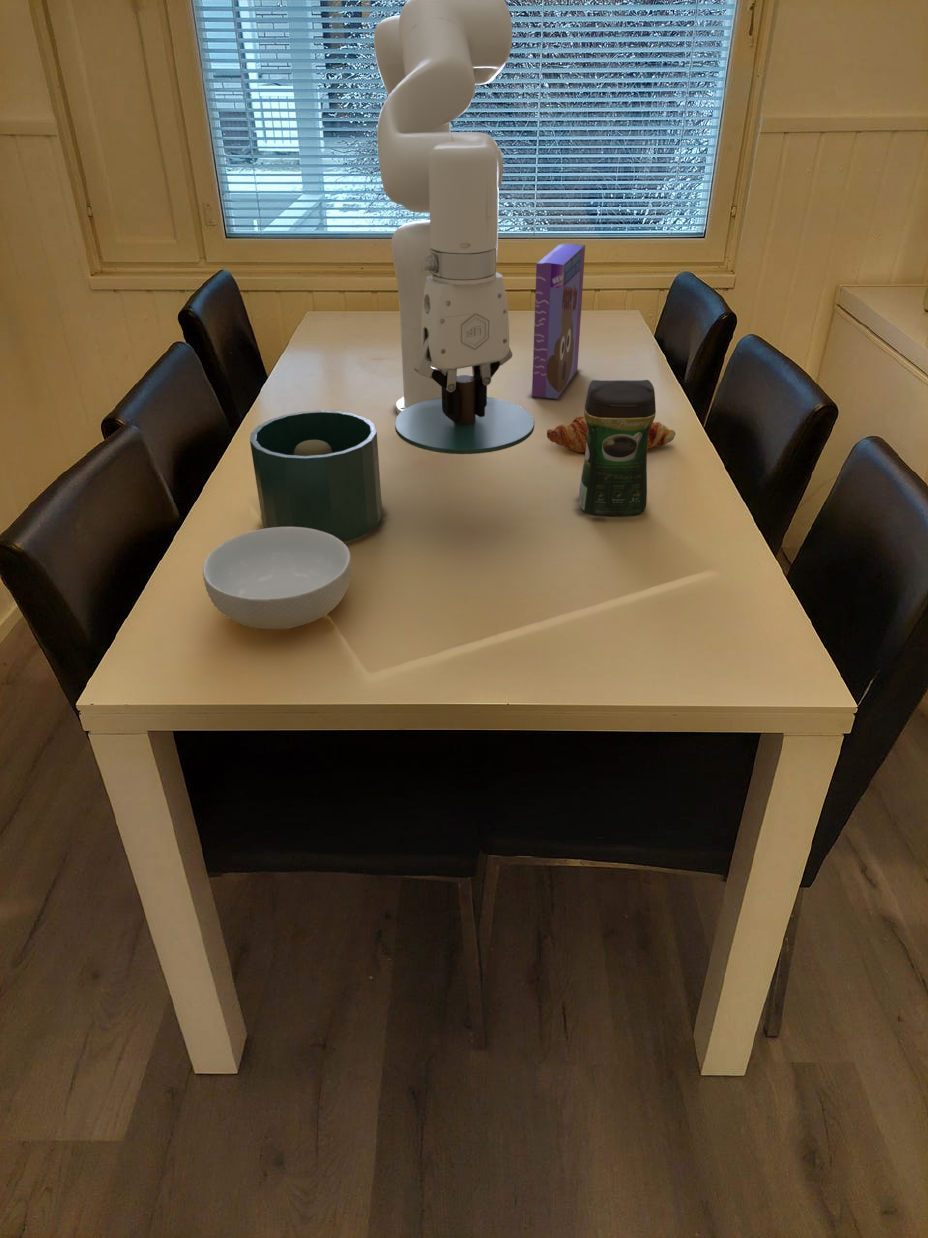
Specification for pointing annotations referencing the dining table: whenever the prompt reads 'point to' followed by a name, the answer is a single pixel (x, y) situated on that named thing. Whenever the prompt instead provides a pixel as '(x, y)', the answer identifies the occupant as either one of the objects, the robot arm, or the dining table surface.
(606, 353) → the dining table surface
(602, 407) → the coffee jar
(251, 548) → the cereal bowl
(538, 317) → the cereal box
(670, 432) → the croissant
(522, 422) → the tin lid
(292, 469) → the tin
